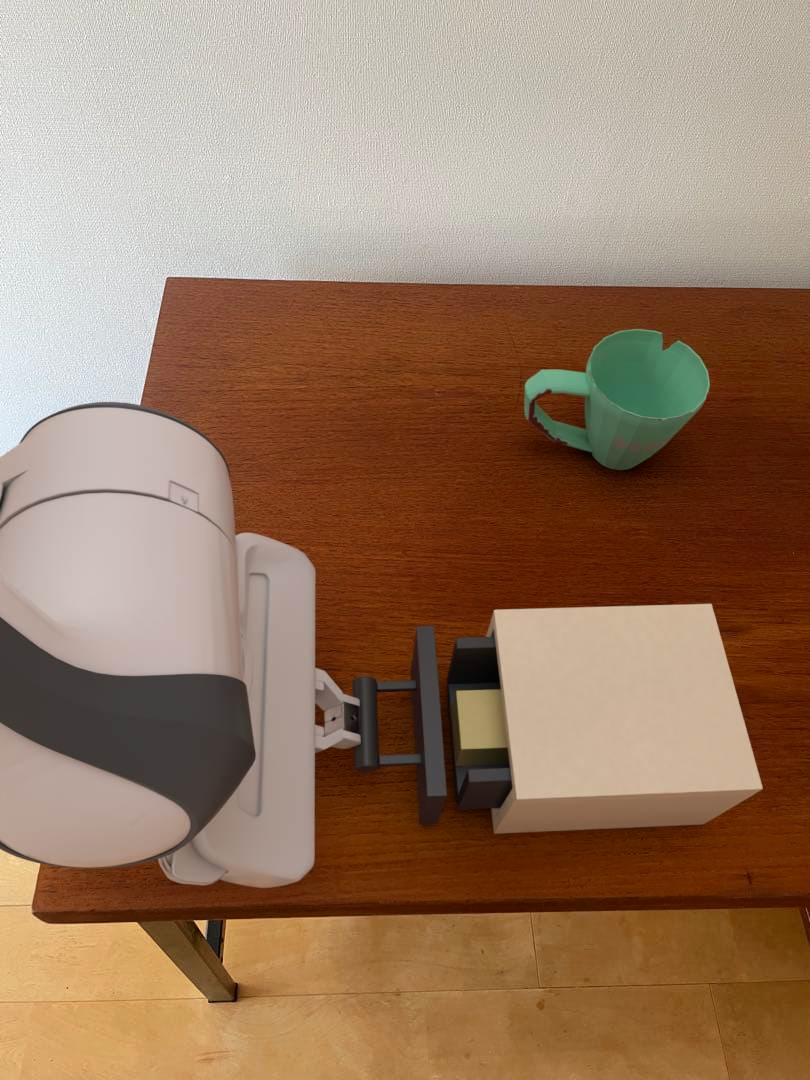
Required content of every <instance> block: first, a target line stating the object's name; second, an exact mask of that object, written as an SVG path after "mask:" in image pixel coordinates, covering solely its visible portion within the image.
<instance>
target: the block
mask: <svg viewBox="0 0 810 1080" xmlns="http://www.w3.org/2000/svg"><path fill="white" fill-rule="evenodd" d="M451 719H452V731H453V743H454V755H455V766H474V765H499V764H510V762H509V753H508V745H507V736H506V728H505V719H504V711H503V702H502V694H501V689H495V690H465V691H456V694H455V697H454V701H453V705H452V709H451Z"/></svg>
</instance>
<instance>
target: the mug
mask: <svg viewBox="0 0 810 1080" xmlns="http://www.w3.org/2000/svg"><path fill="white" fill-rule="evenodd" d="M664 340H665V339H664V334H663V332H660V331H657V330H653V329H652V330H651V329H642V328H633V329H624V330H618V331H616V332H614V333H611V334H608V335H606V336H604V337H603V338H602V339H601V340H600V341H599V342H598V343H597V344H596V345H594V346H593V349H592V351H591V353H590V355H589V358H588V360H587V363H586V367H585V372H582V371H576V370H575V371H574V370H568V369H559V368H558V369H552V368H551V369H540V370H539V371H538V372H536V373H535V374H534V375H532V376H531V377H530V378H528V379H527V380H526V382H525V384H524V407H523V408H524V409H523V410H524V411H523V412H524V418H525V419H526V420H527V421H528V422H529V423H530V424H531V425H532V426H534V427H535V428H536V429H537V430H539V431H540V432H541V433H542V434H543V435H545V436H546V437H547V438H548V439H549V440H550V441H551V442H552V443H555V444H559V445H563V446H566V447H570V448H573V449H577V450H581V451H585V452H588V453H591V455H592V457H593V458H594V459H595V460H596V462H598V463H599V464H600V465H601V466H603V467H605V468H608V469H611V470H616V471H626V470H630V469H632V468H634V467H637V466H639V464H641V463H643V462H645V461H646V460H648V459H649V458H651V457H652V456H653V455H655V454H656V453H657V452H658V451H659V450H661V449H662V448H664V447H665V446H666V445H667V444H668V443H669V442H670V441H671V440H672V438H674V437H675V436H676V435H677V433H678V432H679V431H680V430H681V429H682V428H683V427H684V426H685V425H686V424H688V422H689V421H690V420H691V419H692V418H693V417H694V416H695V415H696V414H697V413H698V412H699V411H700V410H701V409H702V407H703V406H704V404H705V402H706V400H707V397H708V395H709V391H710V387H711V382H710V372H709V371H708V368H707V366H706V365H705V363H704V361H703V359H702V357H700V356H699V355H698V354H697V352H695V351H694V350H693V349H692V347H690V345H688V344H686V343H684V342H682V341H681V340H678V339H677V340H675V341H674V342H673V343H672V344H671V345H670V346H669V347H667V348H665V349H664V342H665V341H664ZM560 394H561V395H562V394H563V395H569V396H577V397H582V398H584V422H585V423H584V424H585V428H583V427H582V428H581V427H578V426H575V425H572V424H571V425H570V424H567V423H564V422H561V421H557V420H555V419H552V418H551V417H550V416H549V415H548V414H547V413H546V412H545V411H544V410H543V409H542V408H541V407H540V406H539V405H538V404H537V400H539V399H540V398H542V397H543V396H545V395H560Z"/></svg>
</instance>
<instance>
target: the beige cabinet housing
mask: <svg viewBox="0 0 810 1080" xmlns="http://www.w3.org/2000/svg"><path fill="white" fill-rule="evenodd" d="M485 637H495V643H496V652H497V660H498V669H499V677H500V686H501V694H502V702H503V711H504V719H505V728H506V736H507V745H508V753H509V762H510V770H511V779H512V787H513V788H512V790H511V791H510V793H509V795H508V796H507V798H506V800H505V801H504V803H503V804H502V806H501V808H490V810H491V818H492V819H491V820H492V829H493V834H495V835H497V834H517V833H518V834H519V833H540V832H541V833H542V832H563V831H583V830H585V831H586V830H607V829H608V830H609V829H630V828H631V829H632V828H633V829H634V828H652V827H677V826H678V827H679V826H696V825H697V826H698V825H705V824H706V823H708V822H710V821H712V820H714V819H716V818H717V817H719V816H720V815H722V814H723V813H725V812H727V811H729V810H731V809H732V808H733V807H735V806H737V805H739V804H740V803H742V802H744V801H746V800H747V799H748V798H750V797H752V796H754V795H755V794H757V793H759V792H760V791H762V790H763V789H764V788H763V784H762V781H761V777H760V773H759V771H758V766H757V762H756V759H755V756H754V751H753V748H752V745H751V741H750V737H749V733H748V730H747V727H746V723H745V719H744V716H743V715H744V714H743V712H742V708H741V705H740V702H739V698H738V694H737V691H736V687H735V684H734V679H733V676H732V672H731V669H730V665H729V662H728V658H727V654H726V650H725V647H724V643H723V640H722V636H721V633H720V629H719V625H718V622H717V618H716V614H715V612H714V608H713V604H712V603H696V604H695V603H694V604H693V603H691V604H686V603H685V604H653V605H651V604H650V605H614V606H581V607H579V606H577V607H544V608H543V607H542V608H541V607H540V608H509V609H508V608H507V609H506V608H505V609H504V608H503V609H494V610H493V612H492V616H491V619H490V622H489V625H488V629H487V632H486V635H485Z"/></svg>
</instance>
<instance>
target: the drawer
mask: <svg viewBox="0 0 810 1080" xmlns="http://www.w3.org/2000/svg"><path fill="white" fill-rule="evenodd" d="M435 629H436V628H435V625H417V626H416V627H415V634H414V641H413V642H414V643H413V651H412V657H411V666H410V680H388V681H387V680H385V681H377V679H376V678H375V677H374V676H368V675H365V676H364V675H363V676H357V677H355V678H354V679H353V680H352V697H355V698H358V699H359V700H360V733H361V744H359V745H357V746H354V747H353V770H354V771H355V772H357V773H362V774H363V773H368V774H369V773H375V772H377V771H379V770H380V768H385V767H386V768H387V767H388V768H389V767H412V766H413V767H414V766H415V772H416V785H417V788H416V789H417V803H418V804H417V805H418V821H419V822H418V823H419V825H420V826H427V825H429V826H430V825H437V824H438V822H439V820H440V817H441V814H442V812H443V808H444V805H445V802H446V799H447V797H448V790H447V789H448V787H447V776H446V762H445V750H444V749H445V748H444V736H443V723H442V707H441V696H440V682H439V671H438V659H437V657H438V656H437V645H436V644H437V643H436V631H435ZM446 687H447V701H448V711H449V724H450V737H451V747H452V761H453V771H454V785H455V798H456V808H457V810H459V811H460V810H461V811H462V810H485V809H488V810H489V809H491V808H501V806H502V804H503V803H504V801H505V800H506V798H507V796H508V795H509V793H510V791H511V790H512V788H513V787H512V779H511V770H510V764H499V765H474V766H455V755H454V743H453V731H452V719H451V709H452V705H453V701H454V697H455V694H456V691H465V690H495V689H501V686H500V677H499V669H498V660H497V652H496V643H495V637H486V636H475V637H474V636H473V637H472V636H471V637H469V636H468V637H456V638H455V641H454V645H453V650H452V654H451V659H450V663H449V667H448V672H447V677H446ZM404 692H411V697H412V699H411V700H412V716H413V733H414V753H407V754H406V753H405V754H404V753H403V754H402V753H401V754H380V749H379V747H380V745H379V744H380V743H379V720H378V719H379V716H378V715H379V714H378V693H404Z"/></svg>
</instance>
